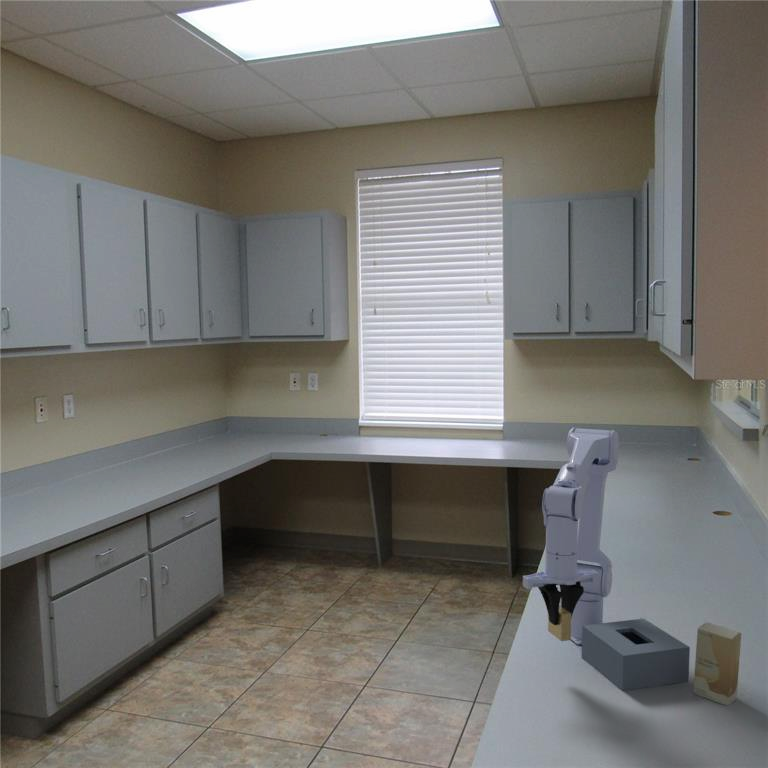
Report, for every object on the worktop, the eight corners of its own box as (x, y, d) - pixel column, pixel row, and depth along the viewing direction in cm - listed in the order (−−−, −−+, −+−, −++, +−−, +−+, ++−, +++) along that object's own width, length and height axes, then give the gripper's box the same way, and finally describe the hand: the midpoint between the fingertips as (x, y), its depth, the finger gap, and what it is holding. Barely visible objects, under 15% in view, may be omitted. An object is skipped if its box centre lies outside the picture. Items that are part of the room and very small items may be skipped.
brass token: (548, 631, 140) (548, 605, 140) (557, 629, 140) (557, 604, 140) (561, 641, 135) (561, 614, 135) (570, 640, 135) (571, 613, 135)
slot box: (581, 657, 146) (582, 625, 146) (642, 649, 150) (643, 618, 149) (622, 690, 133) (623, 655, 132) (688, 681, 136) (689, 647, 136)
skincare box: (692, 694, 132) (695, 627, 131) (702, 685, 135) (705, 620, 134) (729, 707, 127) (732, 638, 126) (739, 698, 130) (742, 631, 129)
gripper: (535, 560, 131) (534, 635, 132) (608, 554, 134) (605, 626, 135) (518, 549, 137) (516, 619, 138) (587, 543, 141) (585, 612, 142)
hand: (559, 622), depth 137 cm, fingers closed on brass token, 2 cm apart
